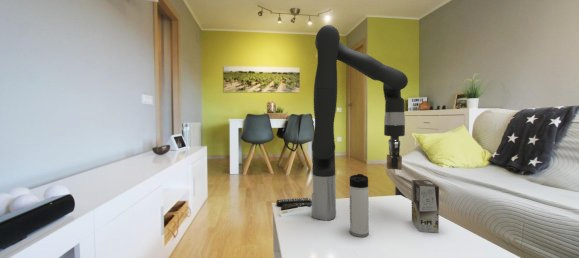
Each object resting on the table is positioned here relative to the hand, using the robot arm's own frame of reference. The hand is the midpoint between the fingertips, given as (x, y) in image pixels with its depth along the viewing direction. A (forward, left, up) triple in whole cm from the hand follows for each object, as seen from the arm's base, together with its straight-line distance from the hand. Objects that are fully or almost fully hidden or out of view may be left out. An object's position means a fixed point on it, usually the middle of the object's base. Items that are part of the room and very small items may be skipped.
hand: (393, 166), depth 94 cm
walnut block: (0, 0, -1) cm, 1 cm away
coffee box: (+9, -7, -21) cm, 24 cm away
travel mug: (-13, -18, -21) cm, 30 cm away
